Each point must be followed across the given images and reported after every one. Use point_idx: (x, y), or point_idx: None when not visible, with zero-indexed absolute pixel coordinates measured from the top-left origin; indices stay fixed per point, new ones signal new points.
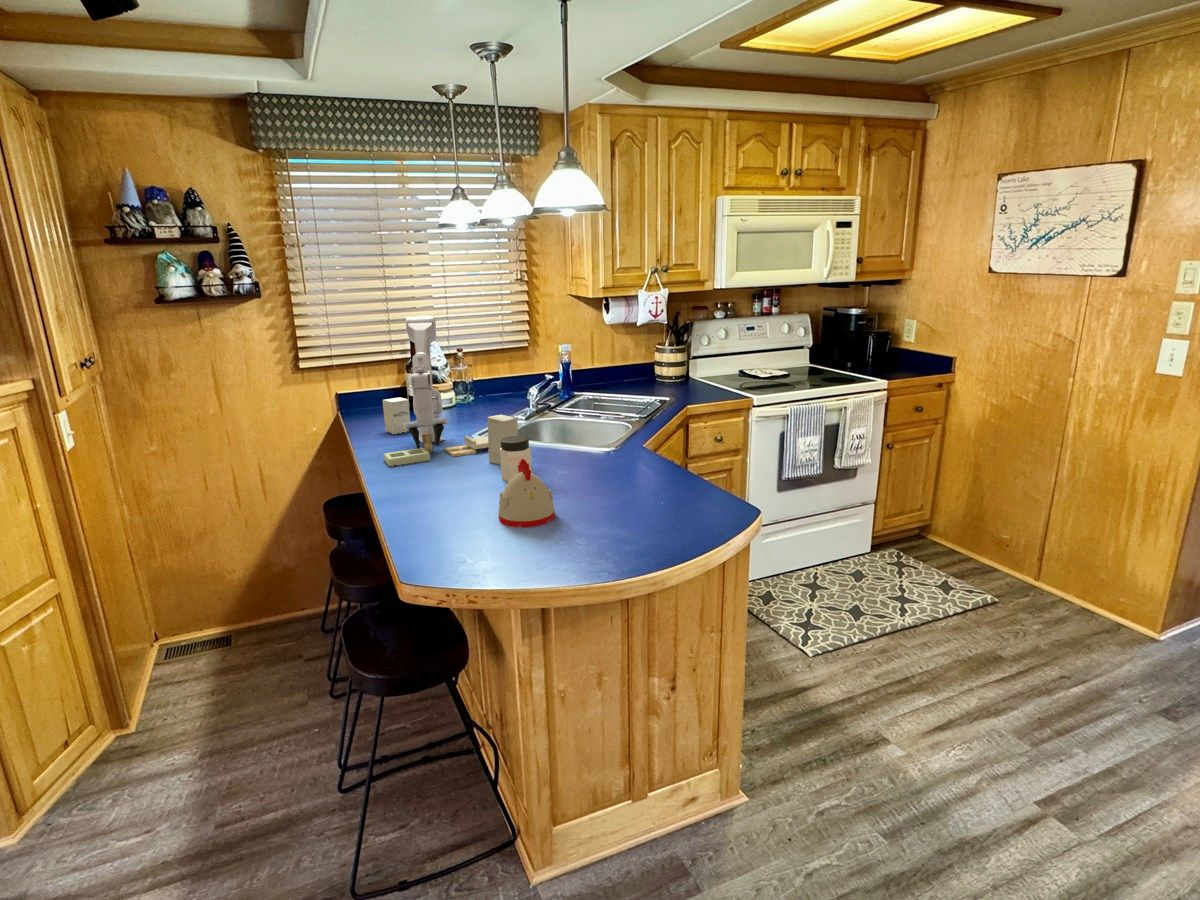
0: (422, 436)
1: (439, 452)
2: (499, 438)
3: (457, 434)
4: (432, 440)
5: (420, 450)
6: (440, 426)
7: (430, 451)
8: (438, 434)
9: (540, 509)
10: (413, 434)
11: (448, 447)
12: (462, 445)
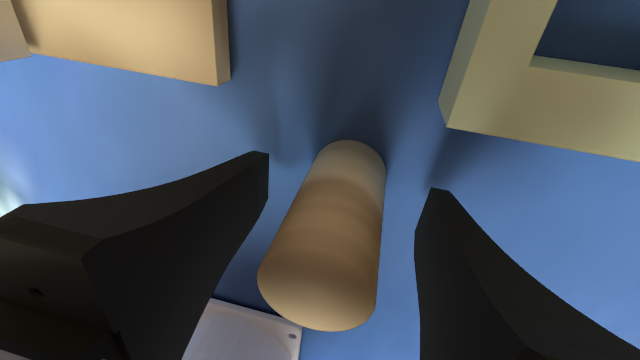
0: (376, 288)
1: (288, 67)
2: None
3: None
4: (243, 318)
5: (527, 63)
6: (21, 257)
7: (345, 140)
8: (180, 197)
9: None
10: (614, 336)
11: (185, 80)
12: (64, 52)
